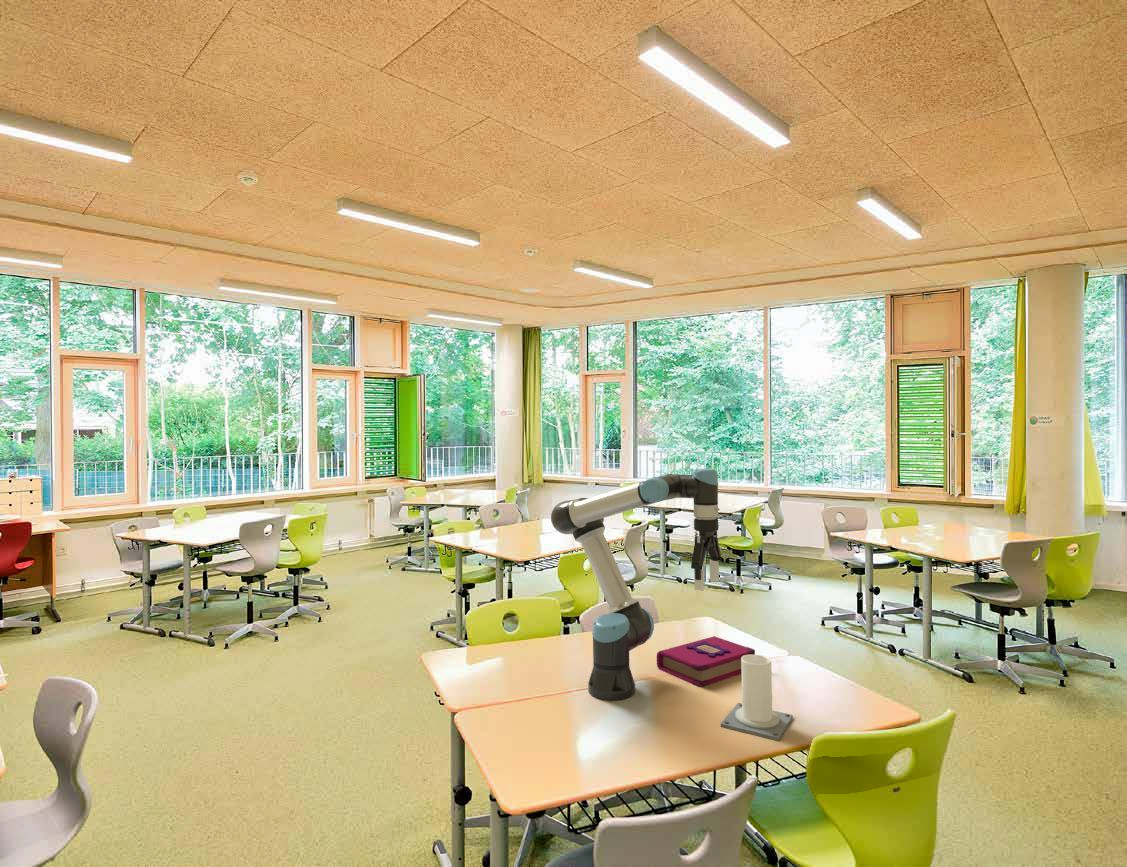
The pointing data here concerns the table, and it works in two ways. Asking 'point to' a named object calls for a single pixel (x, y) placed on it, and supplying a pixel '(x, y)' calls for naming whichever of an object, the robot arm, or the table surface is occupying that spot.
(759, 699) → the cup
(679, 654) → the book
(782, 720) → the flange board
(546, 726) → the table surface
